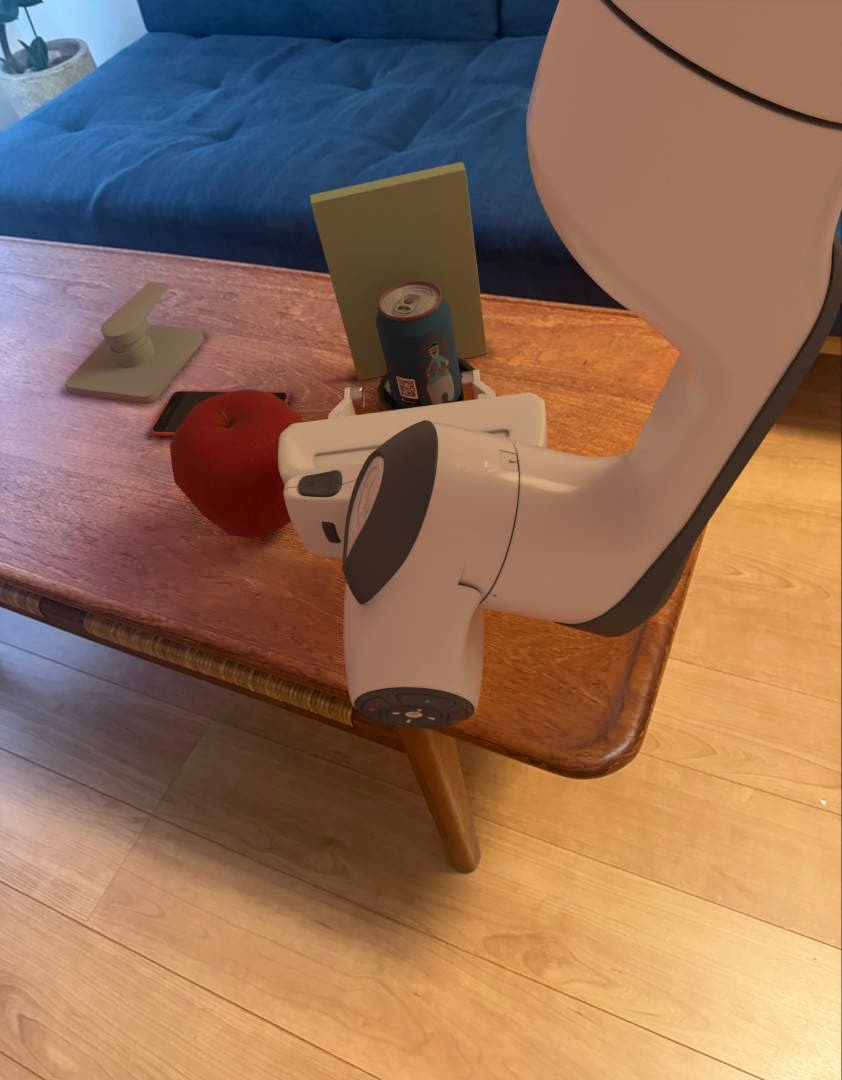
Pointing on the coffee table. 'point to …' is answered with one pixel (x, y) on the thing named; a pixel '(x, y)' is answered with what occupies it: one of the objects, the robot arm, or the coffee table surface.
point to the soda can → (418, 345)
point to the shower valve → (135, 353)
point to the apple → (234, 460)
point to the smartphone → (187, 409)
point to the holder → (387, 396)
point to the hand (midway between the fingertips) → (413, 384)
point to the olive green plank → (401, 254)
